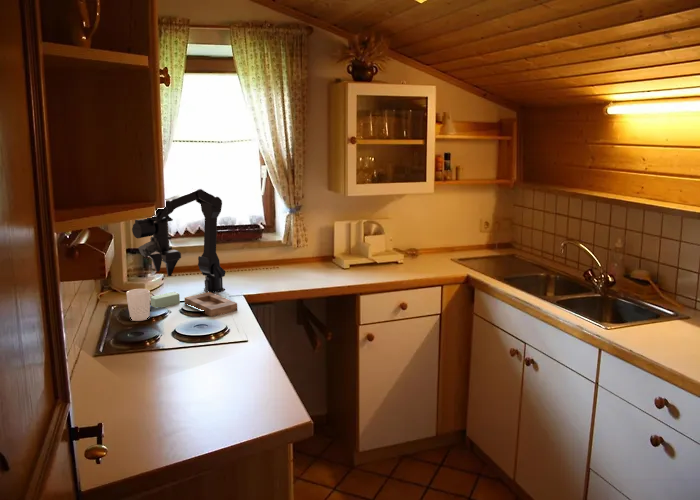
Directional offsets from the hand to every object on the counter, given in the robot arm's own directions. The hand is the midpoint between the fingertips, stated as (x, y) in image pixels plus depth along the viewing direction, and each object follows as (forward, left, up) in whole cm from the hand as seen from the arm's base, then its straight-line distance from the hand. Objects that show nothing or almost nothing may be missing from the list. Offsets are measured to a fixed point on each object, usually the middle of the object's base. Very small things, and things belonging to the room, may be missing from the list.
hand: (163, 273), depth 231 cm
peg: (0, 0, -13) cm, 13 cm away
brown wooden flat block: (-11, +15, -12) cm, 22 cm away
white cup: (+14, +8, -13) cm, 20 cm away
